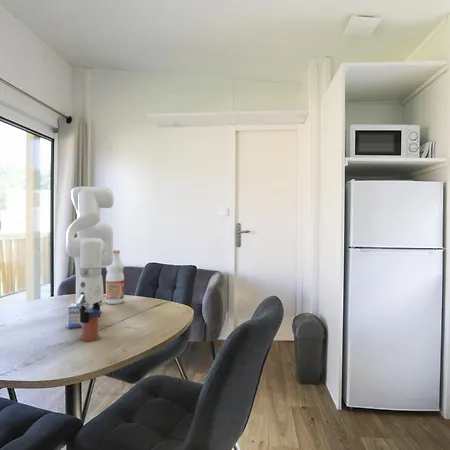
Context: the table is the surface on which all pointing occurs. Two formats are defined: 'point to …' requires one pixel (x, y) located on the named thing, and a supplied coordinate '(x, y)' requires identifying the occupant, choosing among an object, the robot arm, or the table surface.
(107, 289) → the fruit juice
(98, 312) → the jam lid
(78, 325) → the medicine box
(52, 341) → the table surface
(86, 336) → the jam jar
